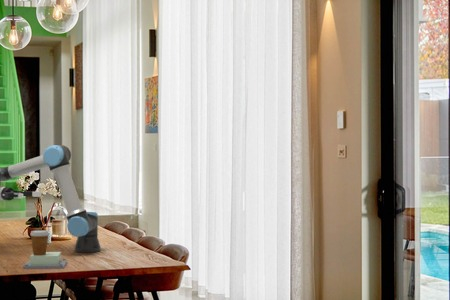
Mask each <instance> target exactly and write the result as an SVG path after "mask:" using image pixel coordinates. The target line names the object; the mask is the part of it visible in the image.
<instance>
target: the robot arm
mask: <svg viewBox="0 0 450 300" xmlns="http://www.w3.org/2000/svg"><path fill="white" fill-rule="evenodd" d="M71 158H72V152H71V150H70V148H69V147H67V146H66V145H64V144H62V145H61V144H57V145H56V144H53V145H50V146H48V147H46V149H44V152H43V154H41V155H39V156H36V157H33V158H29V159H27V160H24V161H20V162H18V163H15V164H12V165H9V166H5V167H3V168H1V166H0V201H1V202H4V201H9V202H10V201H12V200H14V199H21V200H22V199H24V197H35V198H36V197H37V198H42V192H41V191H35V190H32V191H31V190H29V191H22V190H15V189H14V188H13V187H7V186H1V183H2V182H7V181H9V180H12V179H14V178H17V177H20V176H23V175H24V176H25V175H26V174H30V173H33V172H35V171H39V170H42V169H45V168H49V170H50V171H49V172H51V173H53V175H54V177H55V180H56V183H57V185H58V190H59V192H60V195H61V198H62V201H63V203H64V205H65V209H66V211H67V214H66V220H67V225H66V228H67V230H68V233H69V234H71V235H72V236H73V237H77V240H76V241H75V245H74V250H73V251H74V252H76V253H87V254H88V253H98V252H101V243H100V241H99V237H98V231H99V230H98V229H99V225H98V224H99V223H98V222H99V217H98V213H97V212H96V211H87V210H86V209H85V208H83V206H82V204H81V200H80V197H79V194H78V192H77V189H76V186H75V183H74V181H73V177H72V175H71V172H70V169H69V168H70V166H71V164H70V160H71Z"/></svg>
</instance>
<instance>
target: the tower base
mask: <svg viewBox="0 0 450 300" xmlns="http://www.w3.org/2000/svg"><path fill="white" fill-rule="evenodd" d="M67 263H68V259H67V258H62V252H61V251H46V254H45V255H33V253H32V254H30V256H29V259H28V260H27V261H26V262H25V263H24V264H23V266H22V268H23V270H27V269H28V270H45V269H46V270H47V269H53V270H54V269H55V270H56V269H58V270H59V269H61V270H62V269H65V267H66V265H67Z"/></svg>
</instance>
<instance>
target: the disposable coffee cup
mask: <svg viewBox="0 0 450 300" xmlns="http://www.w3.org/2000/svg"><path fill="white" fill-rule="evenodd" d="M29 234H30V237H31V238H30V239H31V244H32V245H31V247H32V248H31V249H32V254H33V255H45V254H46V252H47V248H48V247H47V246H48V240H49V235H50V233H49V231H48V230H39V229H38V230H31V231H30V233H29Z"/></svg>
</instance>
